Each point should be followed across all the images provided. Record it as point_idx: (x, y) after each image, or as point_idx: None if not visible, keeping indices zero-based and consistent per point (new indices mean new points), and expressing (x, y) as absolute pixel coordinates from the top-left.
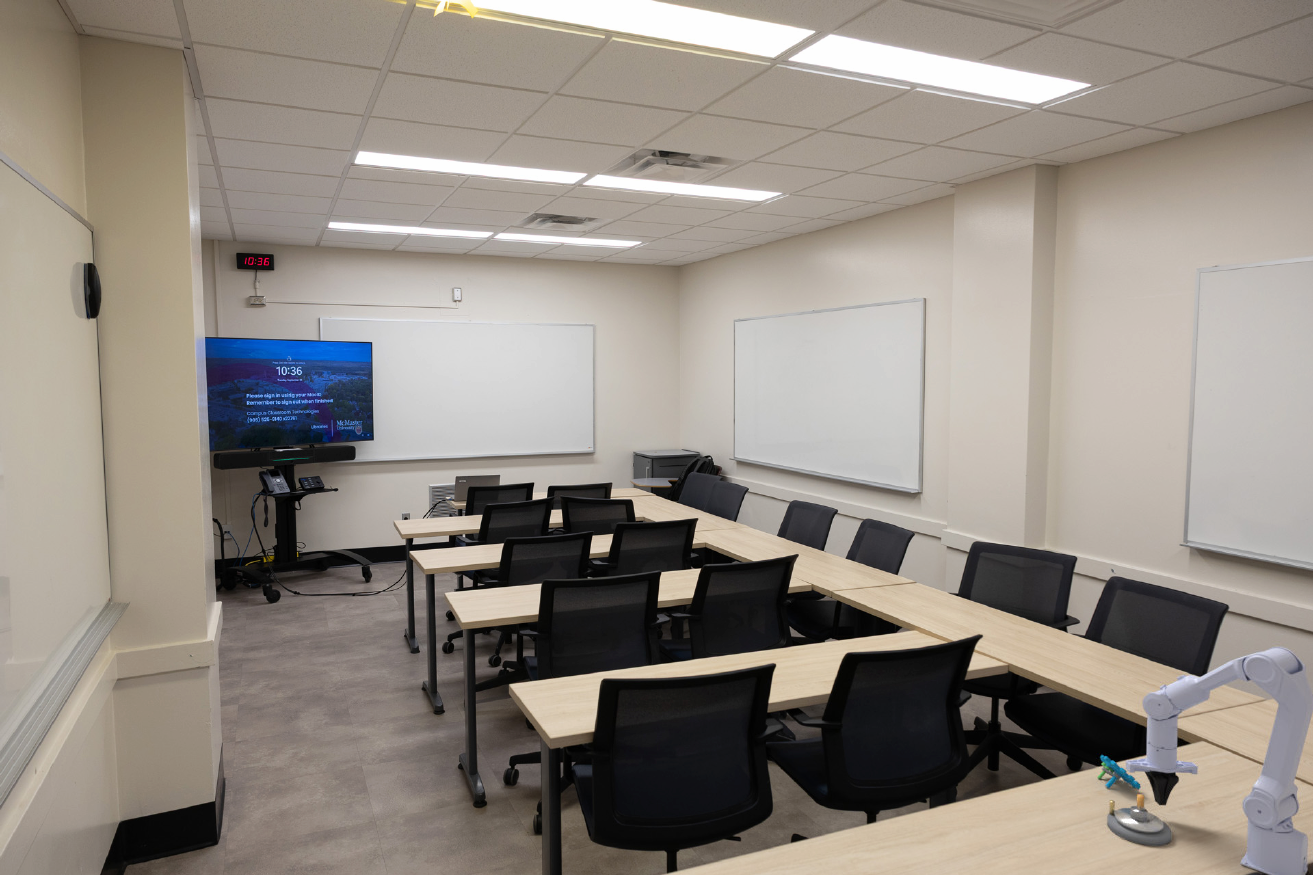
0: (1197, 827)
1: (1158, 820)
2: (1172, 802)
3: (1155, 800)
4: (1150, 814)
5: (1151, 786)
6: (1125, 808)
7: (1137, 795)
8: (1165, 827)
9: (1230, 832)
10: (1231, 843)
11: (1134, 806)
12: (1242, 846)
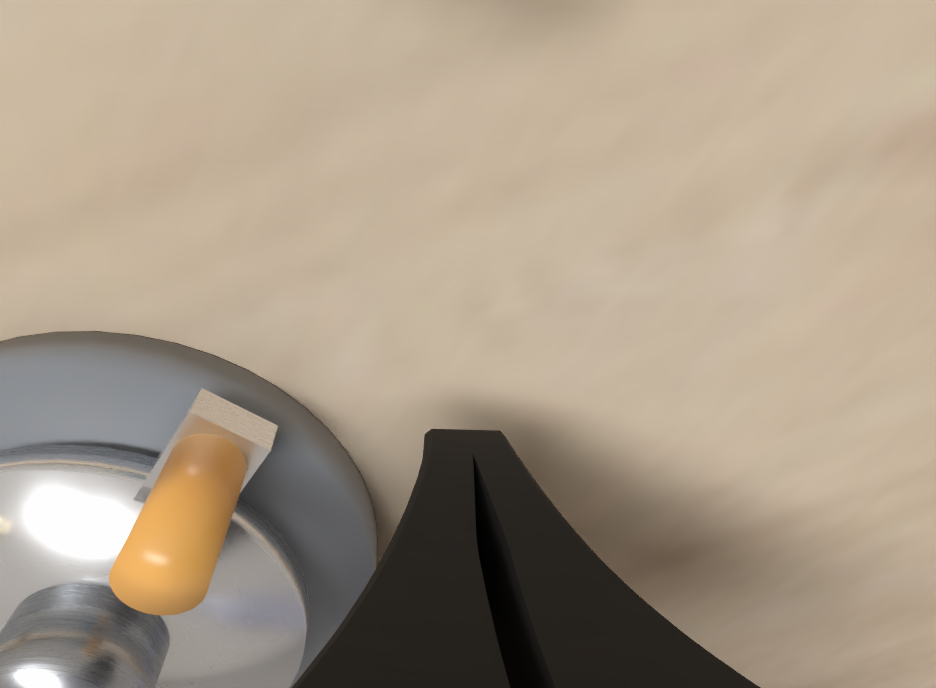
0: (672, 486)
1: (274, 650)
2: (855, 32)
3: (423, 450)
4: (253, 571)
5: (393, 538)
6: (13, 480)
7: (109, 580)
8: (332, 621)
9: (855, 535)
10: (726, 640)
11: (15, 681)
12: (763, 661)
